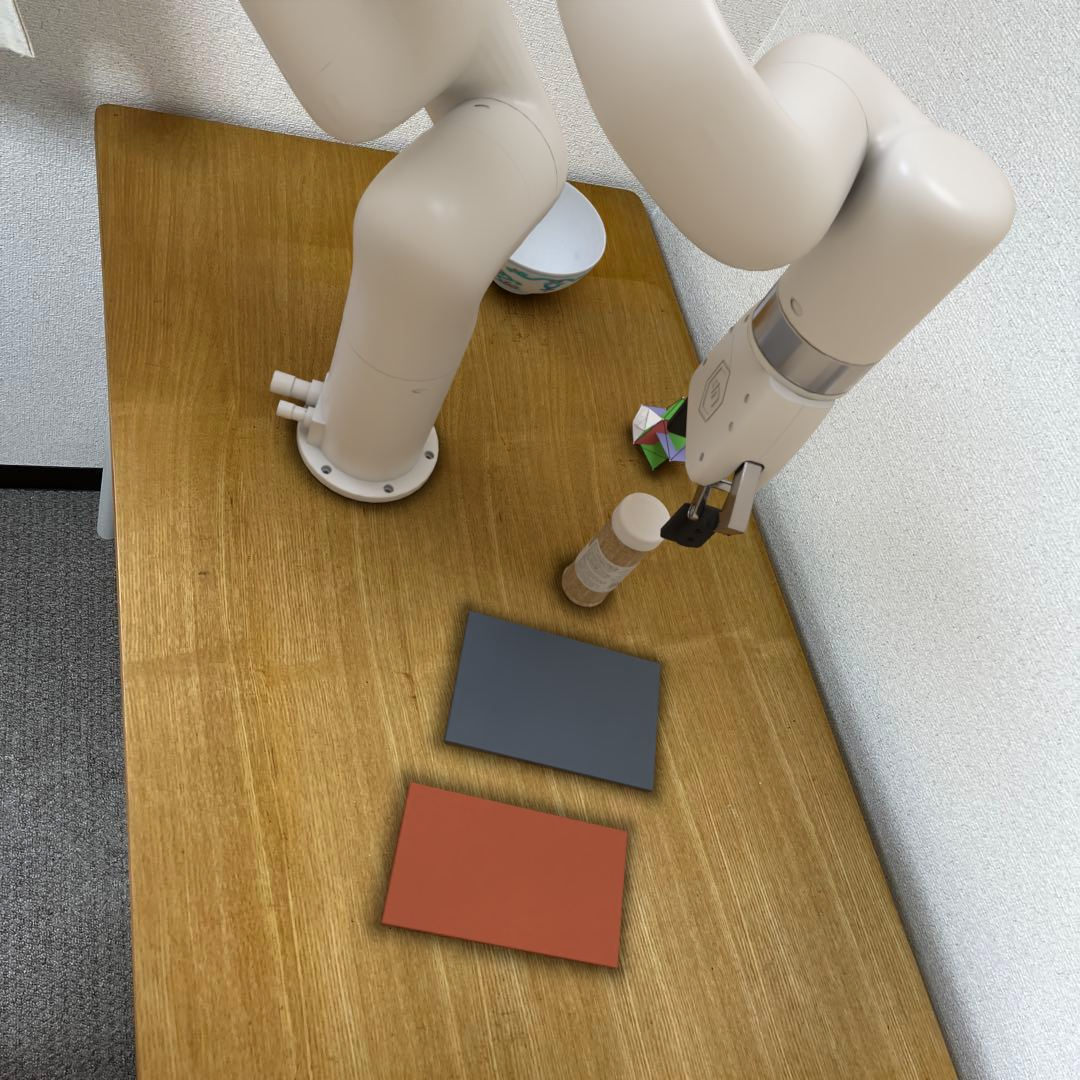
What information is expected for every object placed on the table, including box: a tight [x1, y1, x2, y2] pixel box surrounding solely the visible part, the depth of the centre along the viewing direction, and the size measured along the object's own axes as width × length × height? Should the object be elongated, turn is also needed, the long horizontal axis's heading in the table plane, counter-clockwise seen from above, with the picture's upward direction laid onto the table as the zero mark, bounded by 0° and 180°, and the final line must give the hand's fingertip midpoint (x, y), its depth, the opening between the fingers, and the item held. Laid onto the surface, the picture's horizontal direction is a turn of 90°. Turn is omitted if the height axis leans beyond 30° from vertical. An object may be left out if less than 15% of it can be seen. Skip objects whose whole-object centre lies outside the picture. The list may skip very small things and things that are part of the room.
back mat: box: [443, 610, 662, 793], centre depth 75 cm, size 18×12×1 cm, turn 82°
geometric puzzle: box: [631, 396, 686, 471], centre depth 90 cm, size 7×7×8 cm
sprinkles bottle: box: [561, 492, 671, 608], centre depth 76 cm, size 5×5×13 cm
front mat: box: [380, 782, 628, 969], centre depth 67 cm, size 18×10×1 cm, turn 82°
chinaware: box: [493, 181, 607, 295], centre depth 95 cm, size 15×15×8 cm
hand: (681, 484), depth 67 cm, fingers open, 9 cm apart
